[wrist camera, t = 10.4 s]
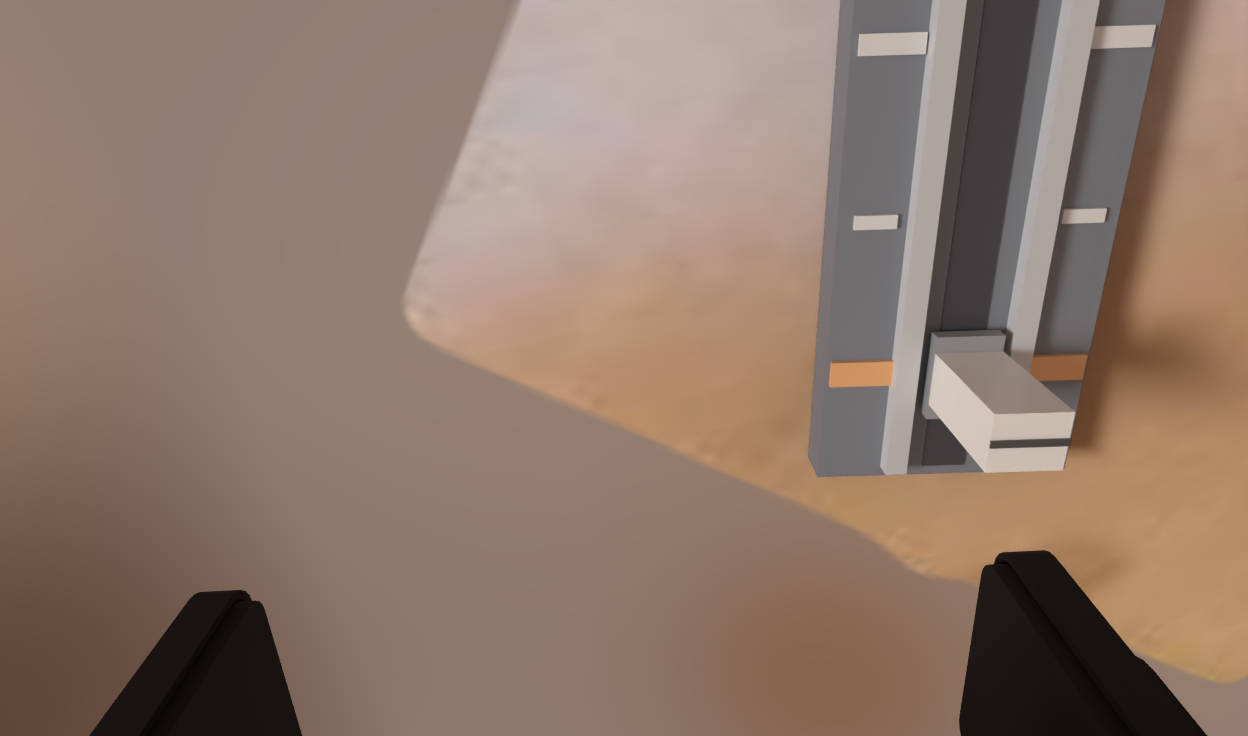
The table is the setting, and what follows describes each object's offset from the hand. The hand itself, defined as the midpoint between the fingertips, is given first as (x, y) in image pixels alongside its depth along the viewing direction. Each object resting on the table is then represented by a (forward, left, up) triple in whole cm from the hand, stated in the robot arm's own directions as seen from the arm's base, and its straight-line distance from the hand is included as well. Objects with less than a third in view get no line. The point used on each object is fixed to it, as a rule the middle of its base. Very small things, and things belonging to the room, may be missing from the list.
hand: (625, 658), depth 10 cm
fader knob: (+7, +15, -25) cm, 30 cm away
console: (+1, +15, -27) cm, 31 cm away
